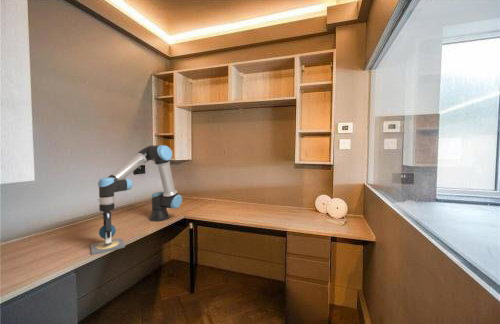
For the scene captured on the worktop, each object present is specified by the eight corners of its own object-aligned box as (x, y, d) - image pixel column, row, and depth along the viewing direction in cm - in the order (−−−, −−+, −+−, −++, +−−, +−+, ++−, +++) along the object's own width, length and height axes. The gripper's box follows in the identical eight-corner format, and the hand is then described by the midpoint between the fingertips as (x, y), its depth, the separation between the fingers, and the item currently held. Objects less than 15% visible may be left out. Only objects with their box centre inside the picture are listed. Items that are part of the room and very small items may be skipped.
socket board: (121, 239, 140) (121, 237, 140) (124, 247, 128) (124, 244, 128) (90, 245, 130) (90, 243, 130) (91, 255, 118) (91, 252, 118)
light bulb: (113, 240, 135) (113, 221, 134) (117, 243, 129) (117, 224, 129) (97, 244, 128) (97, 224, 128) (101, 248, 123) (100, 228, 122)
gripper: (97, 200, 135) (98, 235, 135) (100, 208, 116) (101, 247, 117) (112, 199, 139) (112, 232, 140) (116, 206, 121) (117, 244, 122)
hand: (107, 239), depth 129 cm, fingers open, 11 cm apart
